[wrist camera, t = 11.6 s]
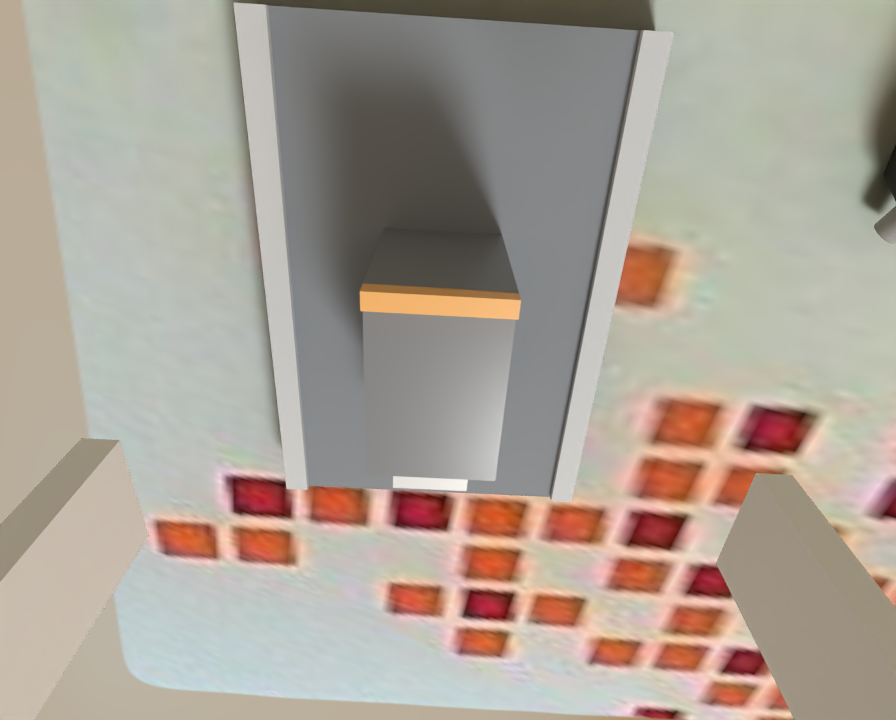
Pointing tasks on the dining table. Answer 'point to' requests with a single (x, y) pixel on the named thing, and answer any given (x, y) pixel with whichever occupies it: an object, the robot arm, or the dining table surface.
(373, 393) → the block
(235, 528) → the dining table surface
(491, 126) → the slate pad
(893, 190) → the gun
